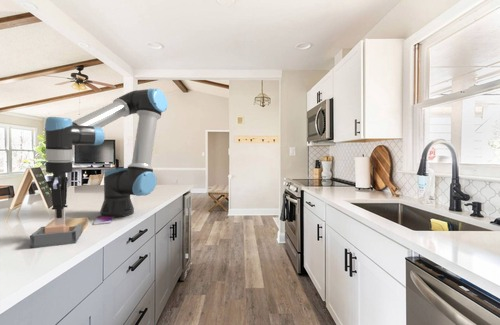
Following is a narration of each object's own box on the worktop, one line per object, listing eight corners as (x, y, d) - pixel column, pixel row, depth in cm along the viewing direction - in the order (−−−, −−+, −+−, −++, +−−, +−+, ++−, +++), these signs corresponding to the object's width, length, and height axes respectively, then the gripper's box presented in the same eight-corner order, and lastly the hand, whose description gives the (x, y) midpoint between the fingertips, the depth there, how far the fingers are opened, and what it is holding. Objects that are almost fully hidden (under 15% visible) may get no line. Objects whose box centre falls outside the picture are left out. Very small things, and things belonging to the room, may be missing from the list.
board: (87, 224, 106) (87, 217, 106) (81, 233, 94) (81, 225, 94) (53, 227, 101) (53, 219, 101) (41, 237, 89) (41, 229, 89)
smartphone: (92, 224, 105) (96, 216, 118) (92, 226, 105) (96, 218, 118) (111, 222, 108) (113, 214, 122) (111, 224, 108) (113, 216, 122)
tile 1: (65, 224, 85) (63, 226, 83) (65, 238, 85) (63, 241, 83) (47, 225, 83) (44, 228, 80) (47, 240, 83) (44, 243, 81)
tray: (81, 233, 93) (81, 223, 93) (75, 243, 83) (75, 231, 83) (41, 237, 88) (41, 226, 88) (30, 248, 78) (29, 235, 78)
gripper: (51, 159, 92) (52, 221, 93) (39, 162, 80) (41, 233, 82) (75, 160, 95) (76, 220, 96) (67, 162, 83) (68, 230, 85)
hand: (60, 226), depth 89 cm, fingers closed
